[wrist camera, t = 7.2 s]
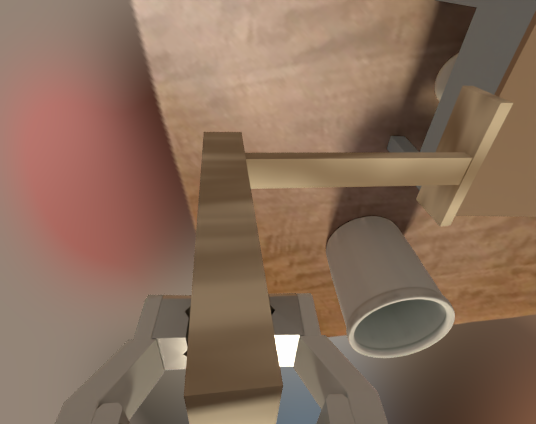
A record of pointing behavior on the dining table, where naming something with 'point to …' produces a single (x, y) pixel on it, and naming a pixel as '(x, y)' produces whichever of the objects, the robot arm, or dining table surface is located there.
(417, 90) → the dining table surface
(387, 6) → the dining table surface
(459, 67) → the wooden top stool
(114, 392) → the robot arm
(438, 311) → the utensil holder
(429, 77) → the dining table surface
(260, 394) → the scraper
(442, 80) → the smooth oval stone
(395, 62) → the dining table surface
